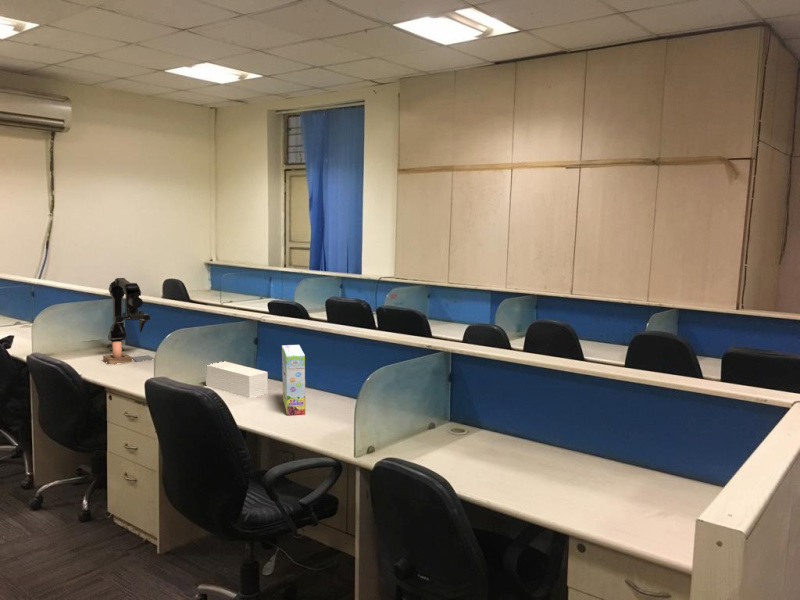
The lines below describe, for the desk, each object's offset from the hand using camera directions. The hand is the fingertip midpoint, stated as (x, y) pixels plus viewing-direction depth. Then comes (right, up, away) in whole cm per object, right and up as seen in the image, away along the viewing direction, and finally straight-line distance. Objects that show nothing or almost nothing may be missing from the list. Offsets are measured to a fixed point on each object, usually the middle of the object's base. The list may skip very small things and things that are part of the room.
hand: (132, 333), depth 354 cm
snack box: (+104, -28, -81) cm, 135 cm away
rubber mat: (+5, -15, +2) cm, 16 cm away
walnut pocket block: (-6, -15, -6) cm, 17 cm away
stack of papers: (+73, -24, -55) cm, 95 cm away
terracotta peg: (-6, -15, -6) cm, 17 cm away
